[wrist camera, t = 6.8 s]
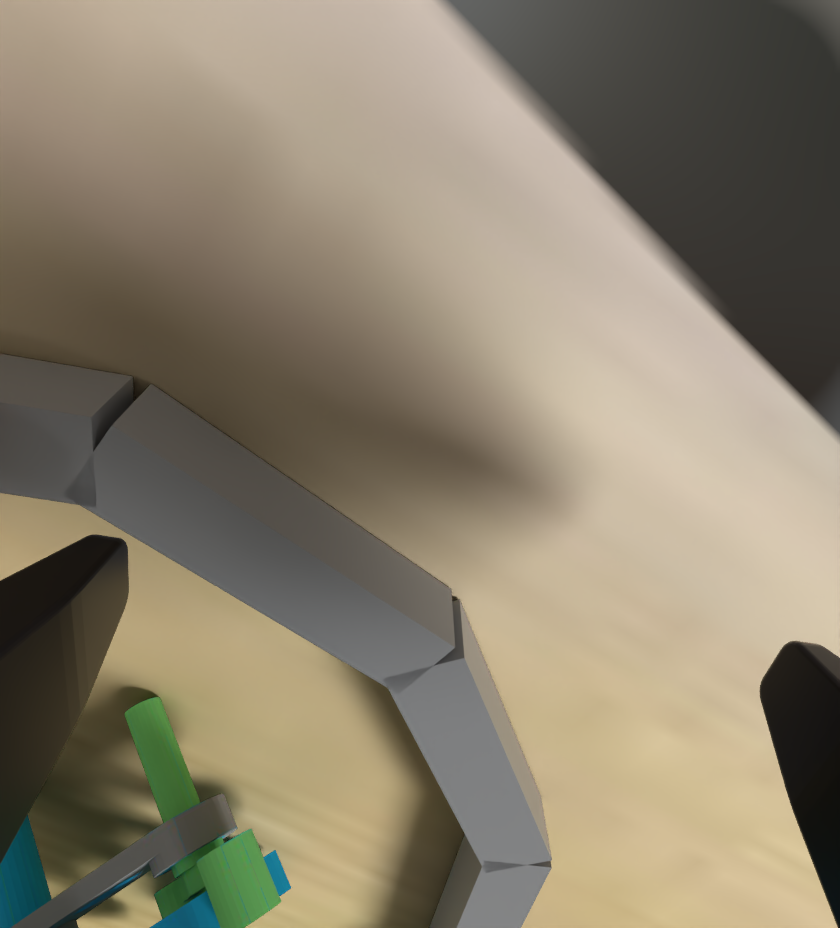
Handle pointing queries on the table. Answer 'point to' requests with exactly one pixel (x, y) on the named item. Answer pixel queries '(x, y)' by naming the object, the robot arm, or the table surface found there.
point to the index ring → (294, 594)
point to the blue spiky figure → (156, 854)
